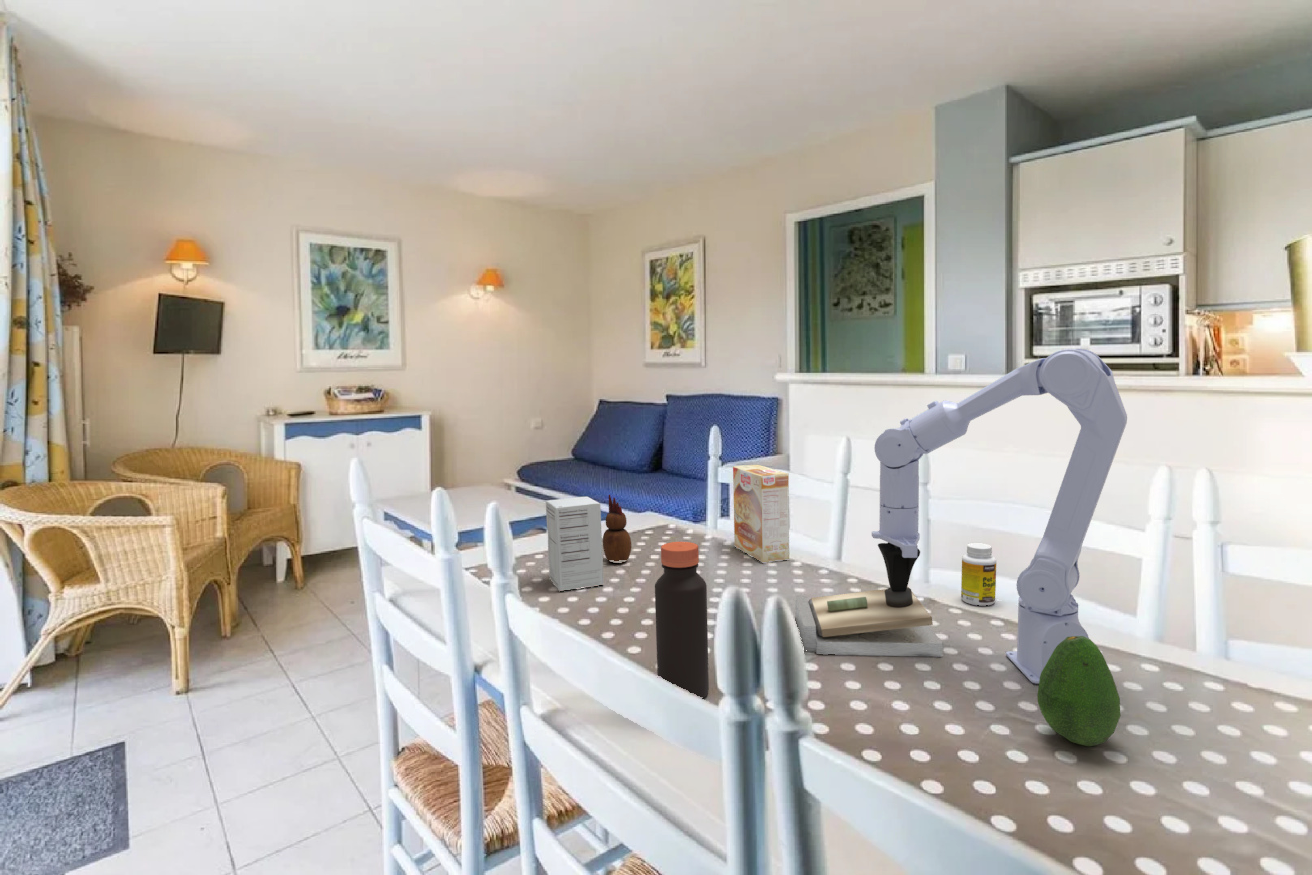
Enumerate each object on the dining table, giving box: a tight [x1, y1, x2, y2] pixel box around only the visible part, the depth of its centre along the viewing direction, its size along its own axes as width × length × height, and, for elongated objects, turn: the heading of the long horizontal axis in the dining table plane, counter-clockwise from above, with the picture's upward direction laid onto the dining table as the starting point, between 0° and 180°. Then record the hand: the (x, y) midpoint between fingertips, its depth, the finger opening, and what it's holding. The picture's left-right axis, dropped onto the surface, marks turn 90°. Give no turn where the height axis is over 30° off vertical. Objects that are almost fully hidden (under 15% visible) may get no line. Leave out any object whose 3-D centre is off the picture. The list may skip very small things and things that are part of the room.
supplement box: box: [545, 496, 605, 591], centre depth 140 cm, size 10×9×17 cm
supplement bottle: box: [960, 542, 997, 607], centre depth 123 cm, size 6×6×10 cm
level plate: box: [808, 586, 934, 637], centre depth 110 cm, size 14×17×3 cm
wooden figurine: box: [602, 494, 632, 561], centre depth 154 cm, size 7×6×15 cm
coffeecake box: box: [732, 464, 790, 563], centre depth 157 cm, size 15×7×20 cm, turn 17°
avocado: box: [1036, 636, 1121, 747], centre depth 78 cm, size 8×8×12 cm
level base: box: [794, 594, 944, 658], centre depth 110 cm, size 16×20×4 cm
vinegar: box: [654, 541, 710, 699], centre depth 91 cm, size 7×7×20 cm
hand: (898, 590), depth 109 cm, fingers closed, pressing on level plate
